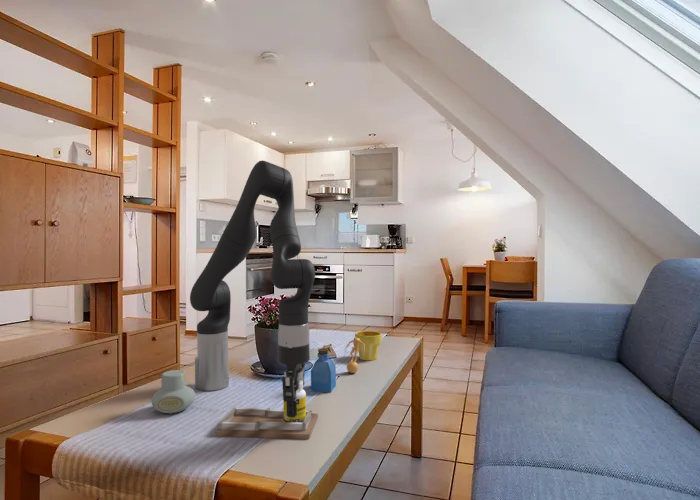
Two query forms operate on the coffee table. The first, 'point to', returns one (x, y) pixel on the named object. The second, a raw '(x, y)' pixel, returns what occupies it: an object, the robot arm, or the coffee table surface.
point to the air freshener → (173, 393)
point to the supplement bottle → (300, 406)
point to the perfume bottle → (323, 373)
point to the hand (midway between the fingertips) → (294, 411)
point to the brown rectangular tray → (264, 424)
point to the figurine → (352, 365)
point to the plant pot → (369, 344)
